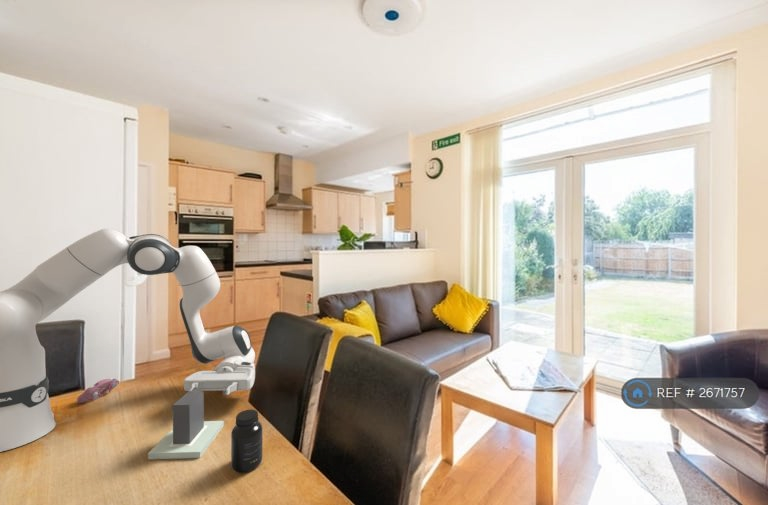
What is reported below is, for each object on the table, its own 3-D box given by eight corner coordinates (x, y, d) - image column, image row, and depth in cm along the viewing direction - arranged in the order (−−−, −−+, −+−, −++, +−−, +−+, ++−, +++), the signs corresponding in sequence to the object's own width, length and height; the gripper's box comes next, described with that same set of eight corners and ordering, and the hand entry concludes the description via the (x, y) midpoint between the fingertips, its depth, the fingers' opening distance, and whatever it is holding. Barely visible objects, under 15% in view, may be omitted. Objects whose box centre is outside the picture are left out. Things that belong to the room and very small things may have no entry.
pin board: (148, 459, 75) (148, 444, 75) (179, 427, 88) (179, 414, 88) (200, 457, 76) (200, 442, 76) (223, 426, 89) (223, 413, 89)
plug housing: (173, 444, 78) (172, 405, 78) (188, 427, 85) (188, 391, 85) (189, 443, 79) (189, 404, 78) (203, 427, 86) (203, 391, 85)
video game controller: (84, 410, 99) (92, 391, 98) (74, 402, 99) (81, 383, 98) (116, 394, 108) (123, 377, 107) (106, 387, 109) (113, 371, 108)
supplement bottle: (226, 464, 74) (225, 414, 73) (253, 450, 79) (253, 403, 79) (239, 479, 69) (239, 426, 69) (268, 462, 75) (268, 413, 74)
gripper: (196, 364, 105) (171, 383, 91) (259, 363, 106) (243, 381, 92) (196, 382, 105) (171, 404, 91) (259, 381, 106) (243, 402, 93)
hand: (208, 392), depth 92 cm, fingers open, 8 cm apart
